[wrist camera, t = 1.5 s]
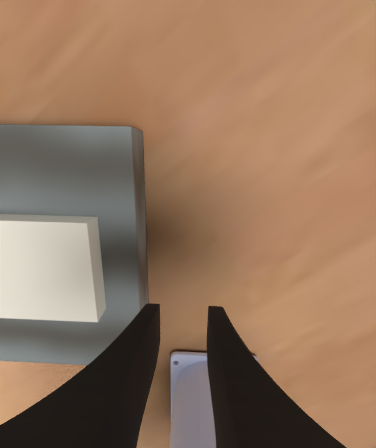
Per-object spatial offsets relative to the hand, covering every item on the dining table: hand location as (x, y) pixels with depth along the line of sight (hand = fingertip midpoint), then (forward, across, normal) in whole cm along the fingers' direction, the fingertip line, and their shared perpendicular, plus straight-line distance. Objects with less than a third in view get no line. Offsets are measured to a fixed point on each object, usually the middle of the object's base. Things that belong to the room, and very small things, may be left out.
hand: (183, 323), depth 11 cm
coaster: (+5, +10, 0) cm, 11 cm away
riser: (+8, +10, 0) cm, 13 cm away
